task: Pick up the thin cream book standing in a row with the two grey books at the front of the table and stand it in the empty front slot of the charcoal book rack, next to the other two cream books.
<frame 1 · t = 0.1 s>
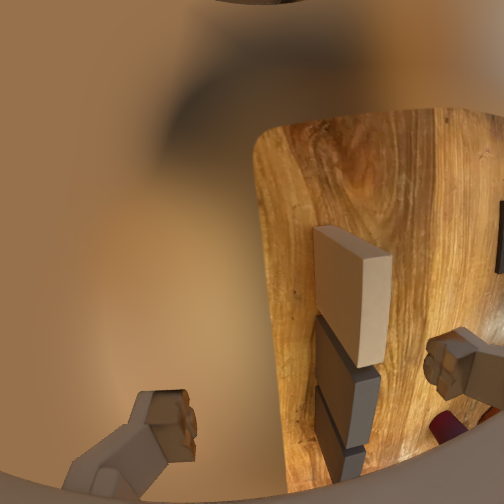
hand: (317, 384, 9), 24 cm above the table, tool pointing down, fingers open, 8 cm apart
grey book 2: (323, 407, 39), on the table
cream book: (324, 266, 34), on the table
cup: (439, 420, 44), on the table
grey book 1: (324, 347, 36), on the table
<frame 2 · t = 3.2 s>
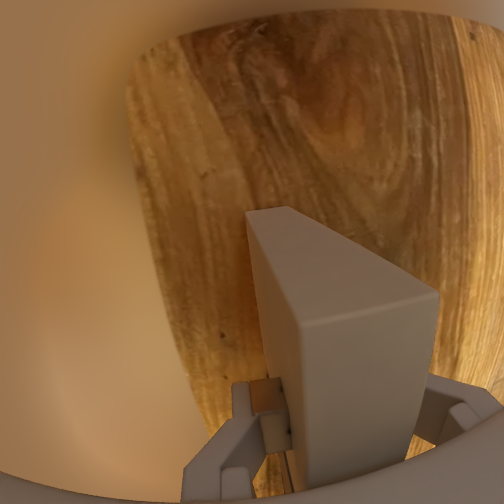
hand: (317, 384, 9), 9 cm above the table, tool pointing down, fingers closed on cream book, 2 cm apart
cream book: (275, 286, 18), on the table, touching gripper
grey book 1: (289, 416, 20), on the table
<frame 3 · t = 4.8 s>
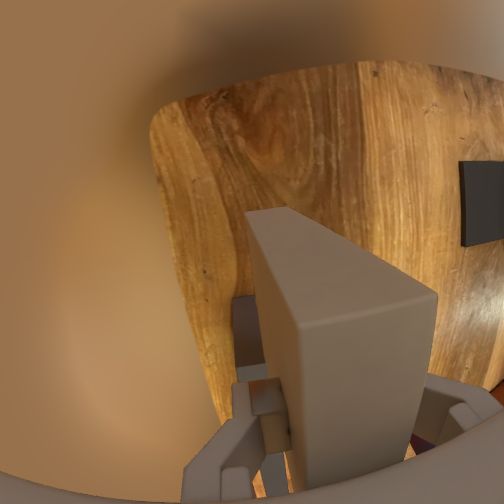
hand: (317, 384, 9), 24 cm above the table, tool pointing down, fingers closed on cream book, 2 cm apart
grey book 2: (261, 401, 37), on the table
book rack: (496, 200, 33), on the table
cream book: (275, 287, 18), point 14 cm above the table, touching gripper
cup: (413, 417, 41), on the table
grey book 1: (248, 332, 34), on the table
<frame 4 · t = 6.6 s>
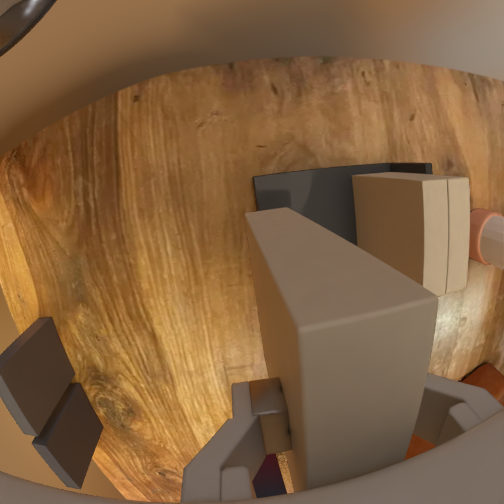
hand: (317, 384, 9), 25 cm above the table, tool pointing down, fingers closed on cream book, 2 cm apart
bread: (424, 424, 44), on the table
pepper shaker: (476, 233, 35), on the table
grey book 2: (85, 406, 37), on the table
book rack: (332, 218, 33), on the table
cream book: (275, 288, 18), point 15 cm above the table, touching gripper
cup: (258, 451, 41), on the table
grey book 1: (56, 347, 34), on the table
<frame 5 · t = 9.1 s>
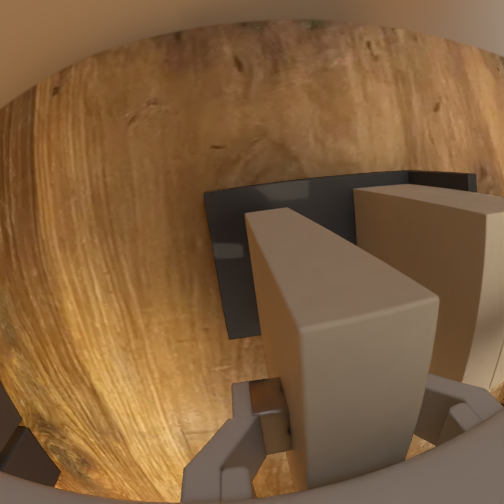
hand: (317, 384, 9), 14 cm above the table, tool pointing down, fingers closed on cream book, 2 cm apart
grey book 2: (38, 450, 27), on the table
book rack: (323, 251, 23), on the table
cream book: (275, 288, 18), point 5 cm above the table, touching gripper
when the fingers open (10 cm above the table, at t = 10.4 s): cream book stays where it is, resting on book rack.
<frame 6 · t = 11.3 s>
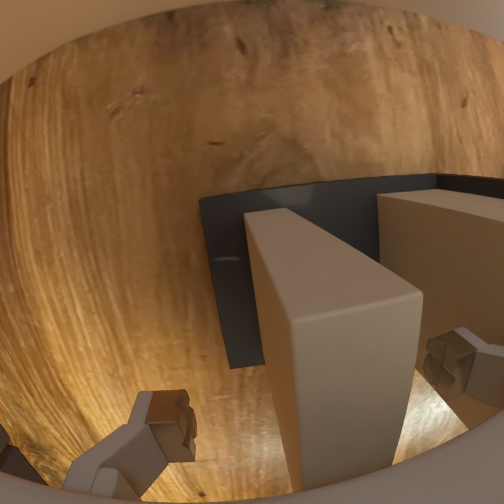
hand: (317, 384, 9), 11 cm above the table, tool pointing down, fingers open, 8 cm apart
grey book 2: (29, 469, 23), on the table
book rack: (341, 267, 19), on the table
cream book: (274, 286, 18), point 1 cm above the table, touching book rack
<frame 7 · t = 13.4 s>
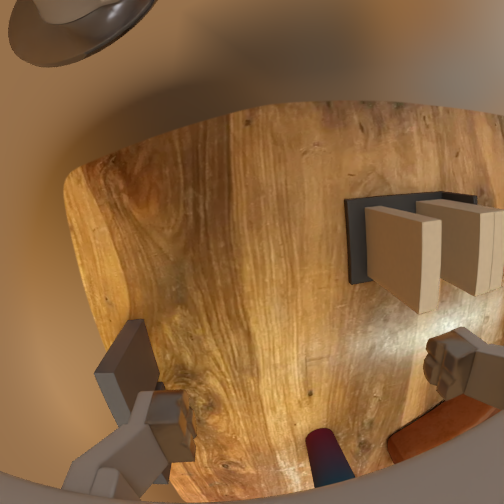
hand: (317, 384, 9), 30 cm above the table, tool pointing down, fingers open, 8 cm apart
bread: (452, 410, 50), on the table
book rack: (399, 234, 39), on the table
cream book: (374, 241, 38), point 1 cm above the table, touching book rack
cup: (319, 436, 47), on the table
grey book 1: (143, 348, 40), on the table
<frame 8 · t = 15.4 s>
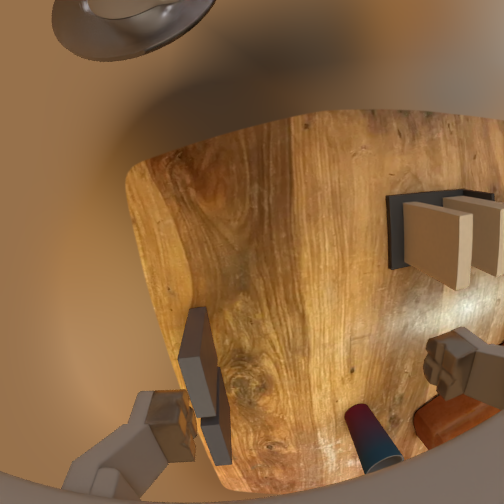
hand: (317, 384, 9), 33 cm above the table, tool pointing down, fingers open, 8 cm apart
bread: (468, 387, 54), on the table
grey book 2: (217, 389, 47), on the table
book rack: (429, 226, 43), on the table
cream book: (410, 231, 42), point 1 cm above the table, touching book rack
cup: (356, 412, 52), on the table
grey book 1: (203, 334, 44), on the table
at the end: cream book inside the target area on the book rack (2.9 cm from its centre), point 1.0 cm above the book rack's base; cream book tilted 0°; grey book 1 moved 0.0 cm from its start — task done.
